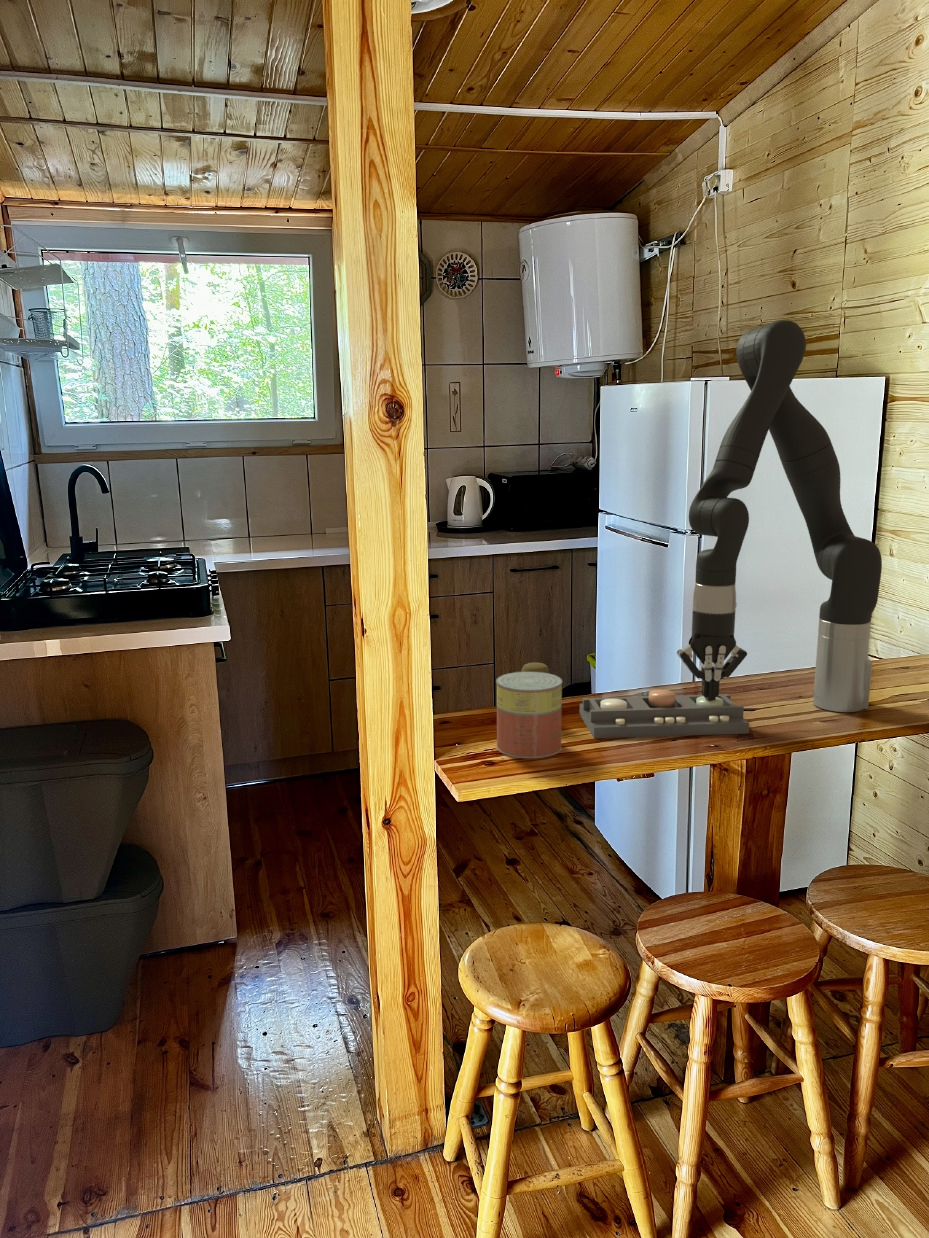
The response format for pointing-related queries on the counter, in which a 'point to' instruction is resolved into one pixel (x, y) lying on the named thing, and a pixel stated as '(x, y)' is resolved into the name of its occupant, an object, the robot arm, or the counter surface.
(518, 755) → the canned food
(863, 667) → the robot arm
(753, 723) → the counter surface
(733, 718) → the console
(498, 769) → the counter surface
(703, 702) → the button two
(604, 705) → the button one
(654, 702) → the button three
